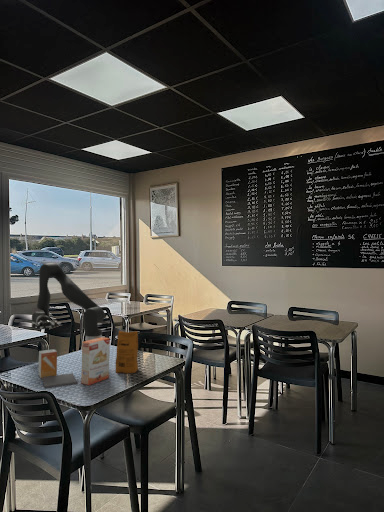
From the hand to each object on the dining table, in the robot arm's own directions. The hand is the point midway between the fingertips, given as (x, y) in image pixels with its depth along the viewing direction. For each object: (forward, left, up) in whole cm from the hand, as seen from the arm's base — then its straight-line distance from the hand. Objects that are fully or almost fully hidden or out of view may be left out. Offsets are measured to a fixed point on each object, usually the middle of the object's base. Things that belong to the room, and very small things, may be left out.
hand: (46, 326), depth 202 cm
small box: (0, +11, -24) cm, 27 cm away
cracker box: (-21, +30, -24) cm, 44 cm away
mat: (-4, +22, -24) cm, 33 cm away
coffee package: (-40, +21, -24) cm, 51 cm away
